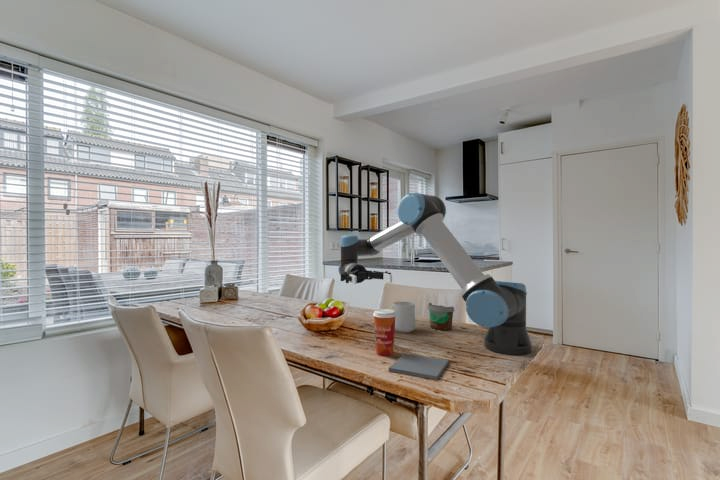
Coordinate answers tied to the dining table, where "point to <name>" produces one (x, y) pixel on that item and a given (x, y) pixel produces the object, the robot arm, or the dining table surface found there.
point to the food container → (440, 317)
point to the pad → (419, 366)
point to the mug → (404, 316)
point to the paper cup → (384, 331)
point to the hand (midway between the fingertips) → (373, 279)
